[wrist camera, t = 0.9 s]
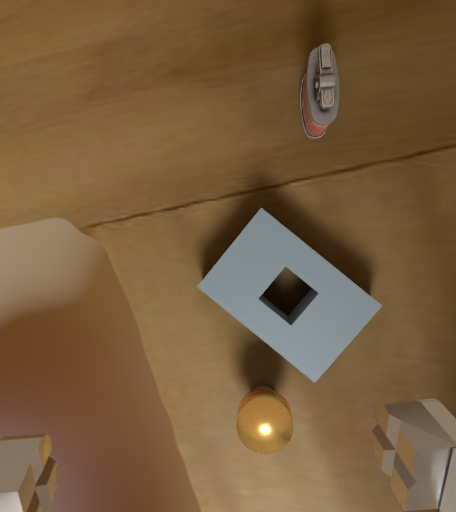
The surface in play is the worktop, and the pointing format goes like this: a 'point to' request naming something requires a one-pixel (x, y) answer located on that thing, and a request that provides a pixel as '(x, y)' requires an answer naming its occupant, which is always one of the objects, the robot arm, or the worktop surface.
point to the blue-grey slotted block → (310, 307)
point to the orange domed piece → (264, 420)
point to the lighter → (319, 92)
